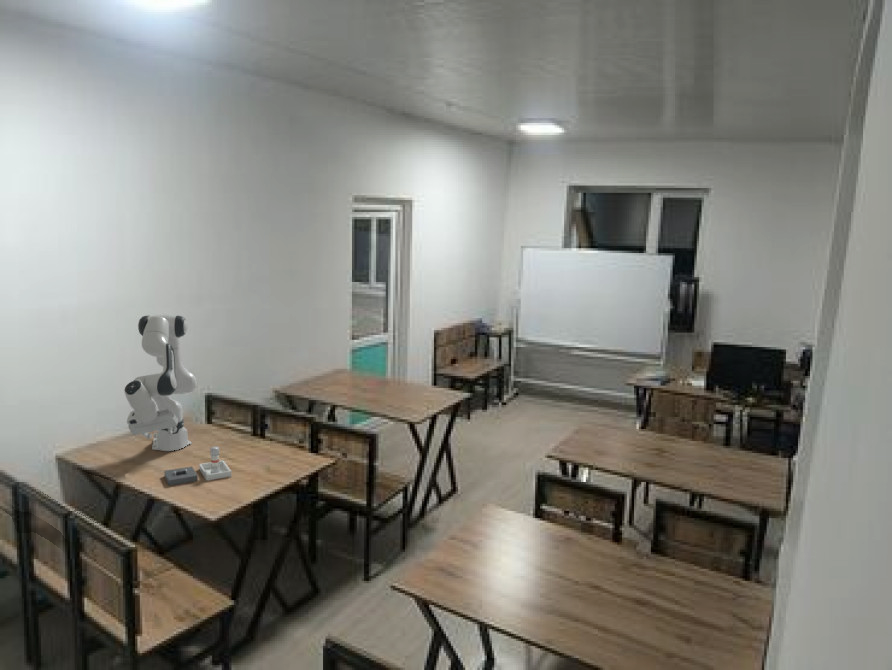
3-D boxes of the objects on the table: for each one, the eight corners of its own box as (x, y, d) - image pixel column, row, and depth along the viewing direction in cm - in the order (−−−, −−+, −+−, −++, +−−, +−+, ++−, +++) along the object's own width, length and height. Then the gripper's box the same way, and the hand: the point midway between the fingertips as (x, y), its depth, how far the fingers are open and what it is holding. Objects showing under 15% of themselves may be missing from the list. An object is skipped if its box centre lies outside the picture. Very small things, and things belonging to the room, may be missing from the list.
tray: (199, 471, 307) (199, 464, 306) (223, 467, 312) (223, 460, 312) (206, 482, 294) (206, 475, 294) (231, 478, 300) (231, 471, 299)
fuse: (210, 471, 304) (209, 447, 302) (218, 470, 306) (217, 446, 304) (211, 474, 301) (211, 449, 298) (220, 473, 303) (219, 448, 300)
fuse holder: (164, 478, 297) (164, 468, 296) (192, 473, 304) (191, 463, 303) (169, 487, 287) (168, 477, 286) (197, 482, 294) (197, 473, 293)
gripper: (172, 403, 288) (184, 426, 296) (126, 413, 287) (139, 435, 295) (169, 413, 283) (181, 435, 291) (122, 423, 282) (136, 445, 290)
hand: (160, 435), depth 293 cm, fingers open, 8 cm apart
